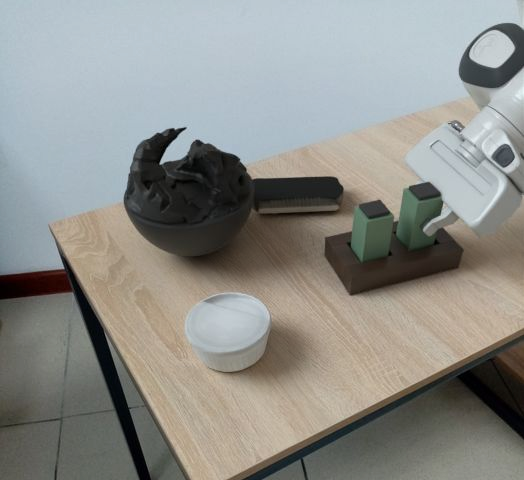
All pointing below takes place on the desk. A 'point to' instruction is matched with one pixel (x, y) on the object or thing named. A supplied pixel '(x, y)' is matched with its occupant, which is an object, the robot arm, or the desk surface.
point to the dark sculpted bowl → (187, 196)
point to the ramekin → (228, 330)
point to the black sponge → (297, 194)
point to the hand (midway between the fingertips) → (414, 221)
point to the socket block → (390, 261)
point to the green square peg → (371, 231)
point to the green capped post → (418, 215)
